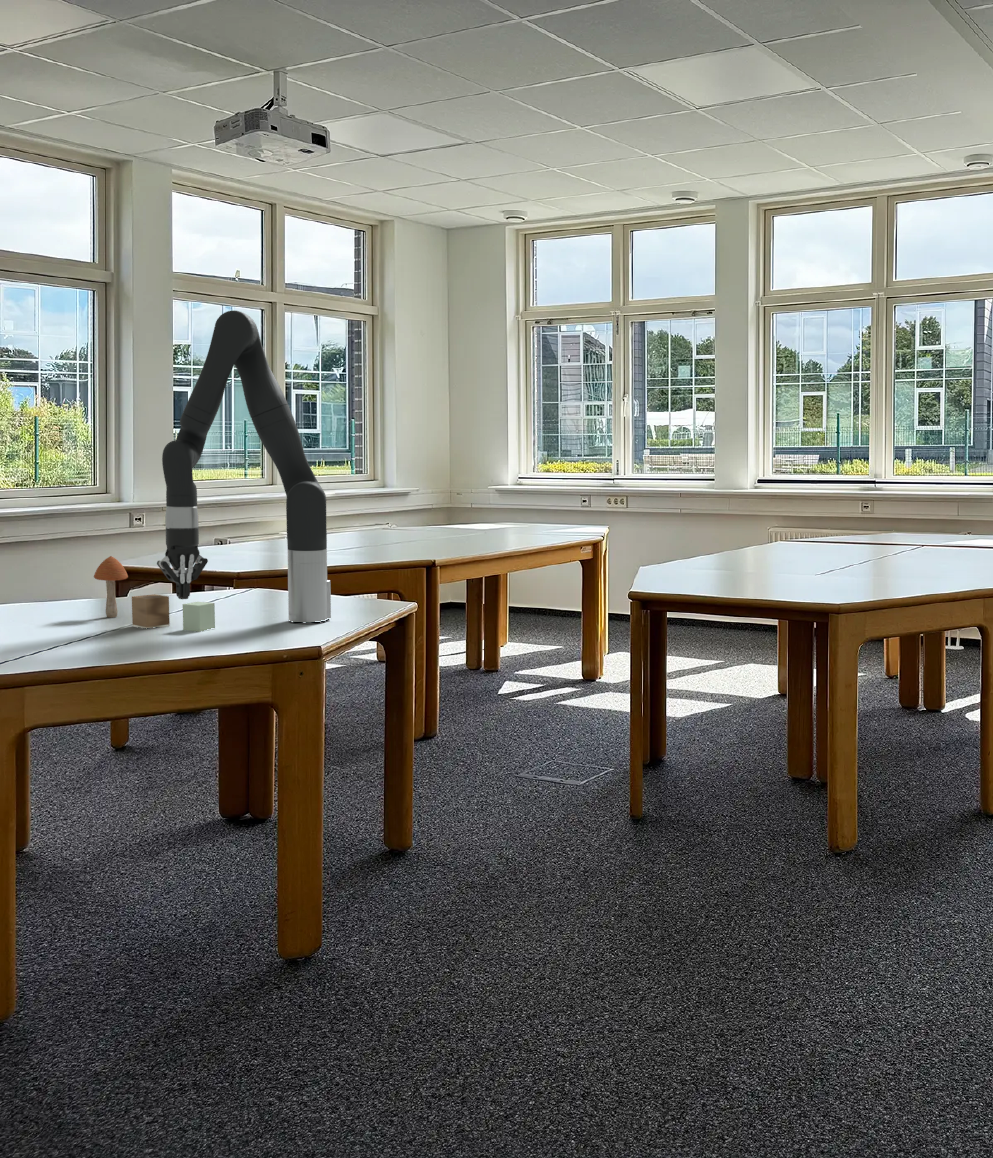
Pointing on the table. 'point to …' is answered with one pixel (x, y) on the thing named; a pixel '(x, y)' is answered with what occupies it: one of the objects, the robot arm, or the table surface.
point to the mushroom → (110, 581)
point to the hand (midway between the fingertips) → (183, 598)
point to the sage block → (198, 616)
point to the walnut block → (150, 611)
